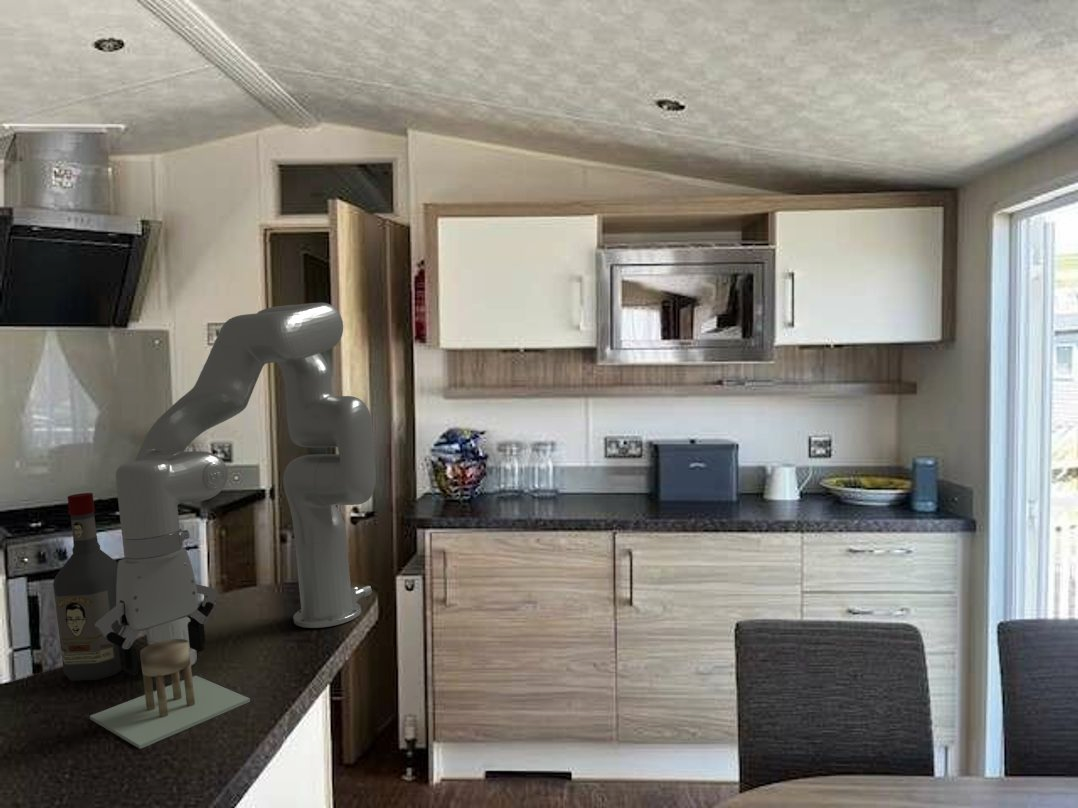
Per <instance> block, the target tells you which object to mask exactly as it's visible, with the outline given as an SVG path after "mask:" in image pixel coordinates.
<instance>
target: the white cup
mask: <svg viewBox="0 0 1078 808" xmlns="http://www.w3.org/2000/svg"><path fill="white" fill-rule="evenodd" d="M188 622H190V619H189V618H188V617H184V618H181V619H178V620H175V621H172V622H169V623H166V624H162V625H159V626H156V627H153V628H150V629H146V630H145V634H146V640H147V644H148V645H151V644H153V643H156V642H160V641H164V640H170V639H184V640H187V641H188V644H189V636H188V626H187V625H188ZM148 645H147V646H148ZM189 653H190V664H191V666H192V665H195V664H196V662H197V660H198V659H197V658H198V656H197V650H194V649H191V648H190V645H189Z"/></svg>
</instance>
